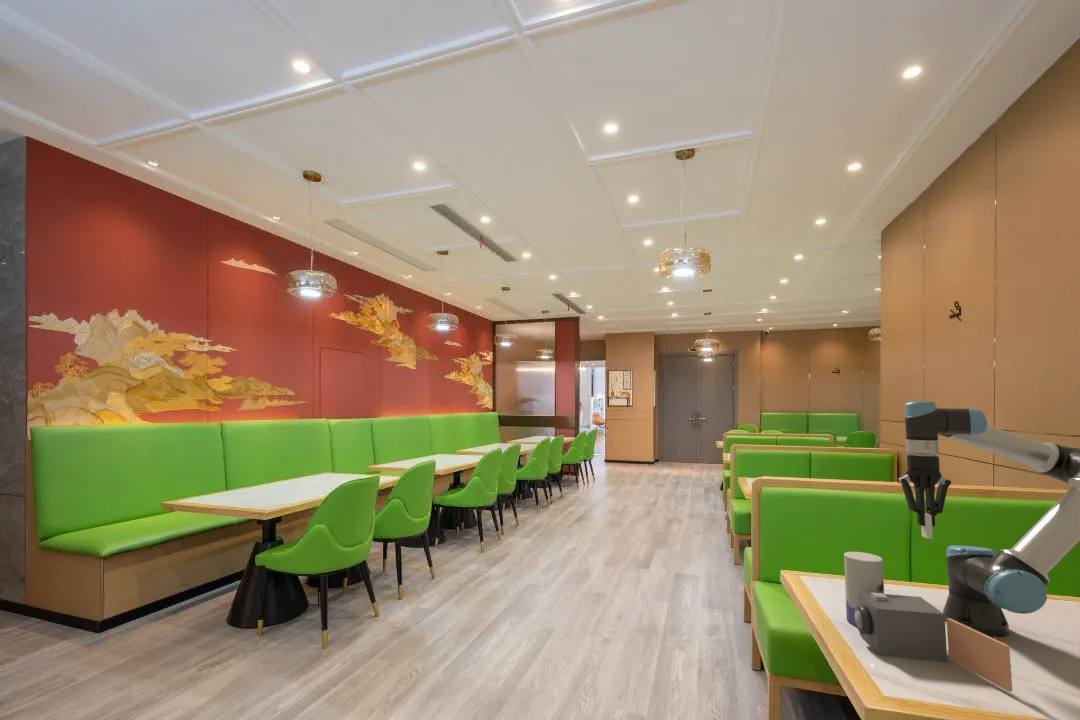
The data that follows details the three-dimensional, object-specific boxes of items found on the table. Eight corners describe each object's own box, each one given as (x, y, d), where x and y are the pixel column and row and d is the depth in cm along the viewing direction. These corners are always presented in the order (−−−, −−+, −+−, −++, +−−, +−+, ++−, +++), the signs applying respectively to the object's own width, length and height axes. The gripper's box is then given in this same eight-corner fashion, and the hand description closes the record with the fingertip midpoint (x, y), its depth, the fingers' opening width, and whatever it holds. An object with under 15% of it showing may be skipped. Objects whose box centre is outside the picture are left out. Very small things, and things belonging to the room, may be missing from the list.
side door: (948, 658, 131) (946, 618, 131) (955, 658, 131) (953, 618, 132) (1008, 691, 116) (1005, 646, 117) (1016, 691, 116) (1013, 645, 117)
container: (892, 632, 148) (888, 562, 149) (854, 629, 150) (851, 559, 151) (876, 618, 157) (873, 552, 159) (841, 615, 159) (838, 550, 161)
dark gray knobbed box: (922, 640, 142) (920, 593, 143) (947, 662, 131) (944, 610, 132) (850, 634, 146) (848, 587, 147) (867, 654, 134) (865, 603, 136)
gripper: (903, 455, 145) (908, 539, 143) (955, 456, 142) (961, 542, 140) (891, 452, 152) (895, 532, 150) (940, 453, 149) (945, 535, 147)
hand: (927, 537), depth 145 cm, fingers closed
